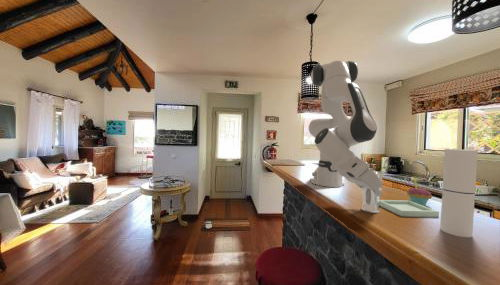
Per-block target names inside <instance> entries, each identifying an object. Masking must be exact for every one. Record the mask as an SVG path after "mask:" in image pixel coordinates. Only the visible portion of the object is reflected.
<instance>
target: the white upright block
mask: <svg viewBox="0 0 500 285" xmlns="http://www.w3.org/2000/svg"><path fill="white" fill-rule="evenodd" d="M372 171H373V172H374V173H375V174H376V175H377V177H378V178H379V179H380V180H381V182H382V183H383V172H382V171H378V170H372ZM382 189H383V186H382V187H381V188H380V191H381V192H382V191H383V190H382ZM361 191H362V204H361V210H362V211H363V212H366V213H371V214H379V213H380V207H379V205H378V204H379V200H380V197H379V196H376V195H375V194H374V191H373V190H370V189H368V188H365V187H363V186H362V189H361Z"/></svg>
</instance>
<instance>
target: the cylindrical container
mask: <svg viewBox="0 0 500 285" xmlns="http://www.w3.org/2000/svg"><path fill="white" fill-rule="evenodd" d="M478 152H479V151H478V150H477V149H458V148H457V149H456V148H455V149H454V148H445V149H444V159H443V174H442V175H443V176H442V178H443V179H442V194H441V209H440V212H441V213H440V225H439V229H440V230H441V231H442V232H444V233H445V234H448V235H452V236H456V237H459V238H472V237H473V229H474V216H475V201H476V200H475V198H476V197H475V196H476V183H477V171H478V170H477V168H478V154H479V153H478Z"/></svg>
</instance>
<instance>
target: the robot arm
mask: <svg viewBox="0 0 500 285" xmlns="http://www.w3.org/2000/svg"><path fill="white" fill-rule="evenodd" d="M310 73H311V74H310V80H311V82H312V84H313V86H316V87H321V92H320V93H321V98H320V100H321V102H320V103H321V104H320V106H321V108H320V109H321V110H322V111H323V112H324V113H325V114H328V115H329V116H331V118H317V119H316V118H315V119H311V121H310V122H309V125H308V131H309V133H310V135H311V136H312V137H313V138H314V144H315V146H316V148H317V150H318V151H319V160H318V164H317V166H318V167H317V168H316V169H315V170H314V171H313V172H312V173H311V176H312V178H309V181H310V180H311V181H310V182H311V184H312V183H313V184H312V185H315V184H316V186H321V187H330V188H340V187H343V186H345V183H344V182H343V178H344V179H345V180H347V181H348V182H350V183H352V184H355V185H356V186H357V187H358V188H360V189H361V190H362V186H363V187H365V188H368V189H370V190H373V191H374V194H375V195H376V196H379V198H380V197H382V195H383V192H382V190H381V191H380V188H381V187H382V188H383V181H382V182H381V180H380V179H379V178H378V177H377V175H376V174H375V173H374V172H373V171H374V170H372V169H371V168H370V164H369V162H367V161H365V160H363V159H362V158H360V157H358V155H356V154H355V152H353V151H352V150H351V149H350V148H351V147H353V146H356V145H358V144H361V143H365V142H369V141H372V140H373V139H374V137H375V135H376V133H377V131H378V130H377V129H378V126H377V124H376V122H375V120H374V118H373V116H372V114H371V112H370V110H369V108H368V105H367V102H366V99H365V96H364V94H363V92H362V89H361V88H360V86H359V85H358V84H356V83H354V82H355V81H356V80H358V79H357V78H358V76H359V67H358V64H357V63H356V62H355V61H352V60H347V61H342V60H334V61H332V62H329V63H324V64H317V65H315V66H313V68H312V70H311V72H310ZM346 102H349V106H350V108H351V111H352V116H351V117H350V118H349V117H348V116H347V115H346V113H345V111H344V107H343V106H344V104H343V103H346Z"/></svg>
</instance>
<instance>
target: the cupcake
mask: <svg viewBox="0 0 500 285" xmlns="http://www.w3.org/2000/svg"><path fill="white" fill-rule="evenodd" d="M414 186H415V187H411V188H409V189H408V190H407V191H406V194H407V196H409V199H410V201H412V202H414V203H417V204H420V205H422V206H425V207H426V205H427V203H428V201H429V200H430V199H432V197H433V196H432V193H431V192H430V191H429V190H428V189H426V188H421V187H418V183H417V177H414Z"/></svg>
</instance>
